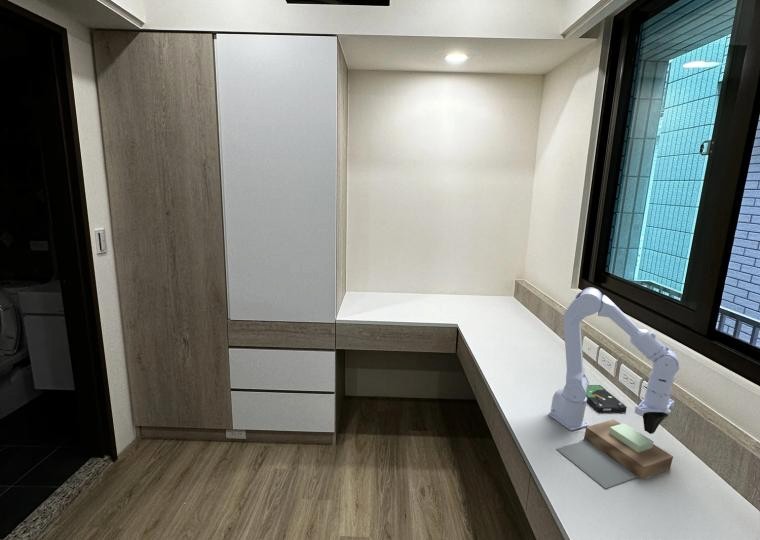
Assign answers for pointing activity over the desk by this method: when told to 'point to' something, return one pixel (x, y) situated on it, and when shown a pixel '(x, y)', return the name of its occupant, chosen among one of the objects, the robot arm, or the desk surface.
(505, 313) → the desk surface
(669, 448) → the desk surface
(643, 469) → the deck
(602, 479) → the mat
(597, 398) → the disk drive
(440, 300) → the desk surface
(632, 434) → the pale green block
